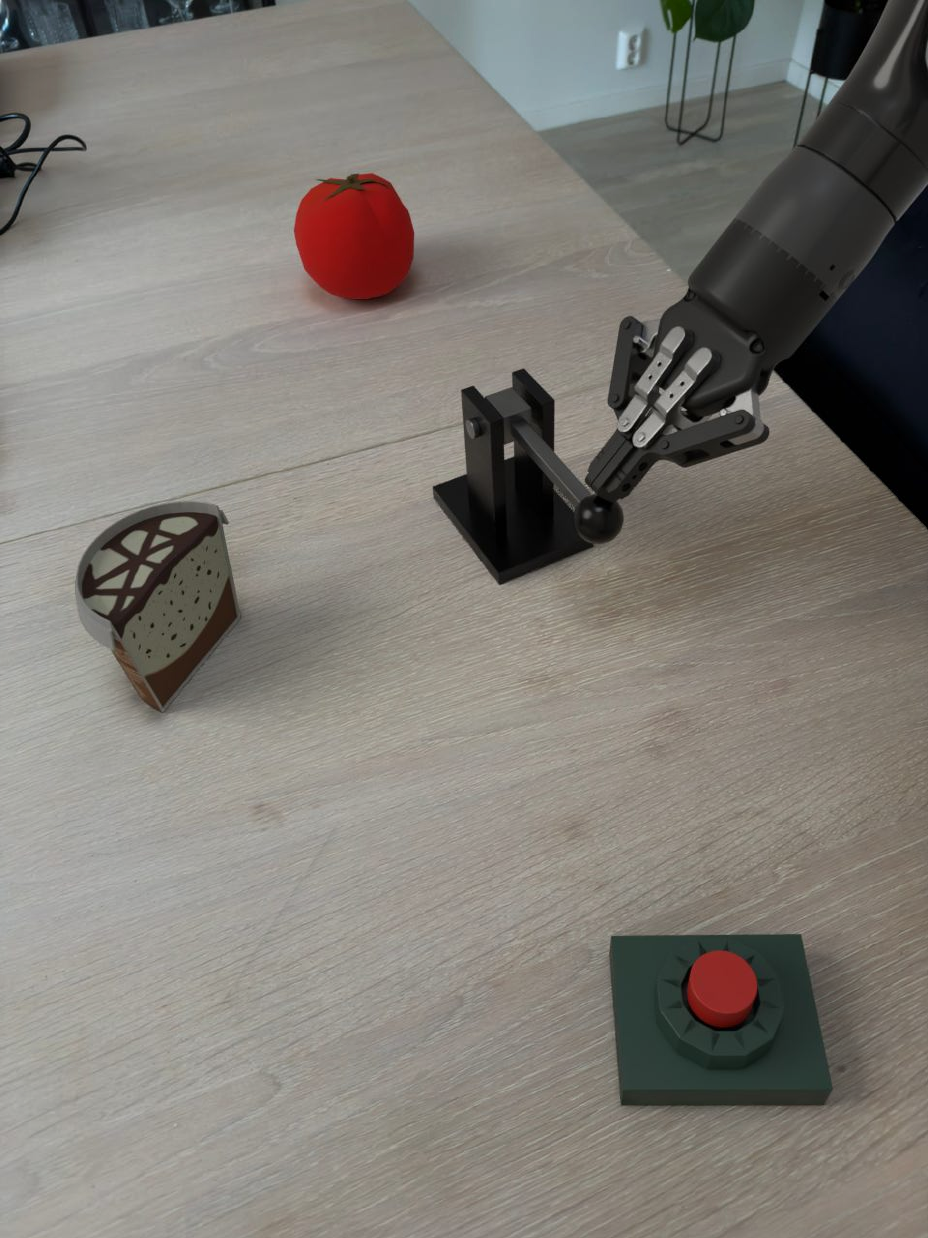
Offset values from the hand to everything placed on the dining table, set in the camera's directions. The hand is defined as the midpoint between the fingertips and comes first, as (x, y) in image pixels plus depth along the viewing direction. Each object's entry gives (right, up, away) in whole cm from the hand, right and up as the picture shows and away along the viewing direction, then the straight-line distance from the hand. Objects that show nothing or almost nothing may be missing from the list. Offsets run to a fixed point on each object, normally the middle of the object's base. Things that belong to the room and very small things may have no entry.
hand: (599, 492), depth 68 cm
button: (+4, -27, -14) cm, 30 cm away
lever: (-2, +1, +6) cm, 7 cm away
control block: (+4, -29, -11) cm, 31 cm away
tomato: (-18, +25, +40) cm, 51 cm away
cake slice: (-29, -10, +9) cm, 32 cm away
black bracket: (-5, 0, +16) cm, 17 cm away
